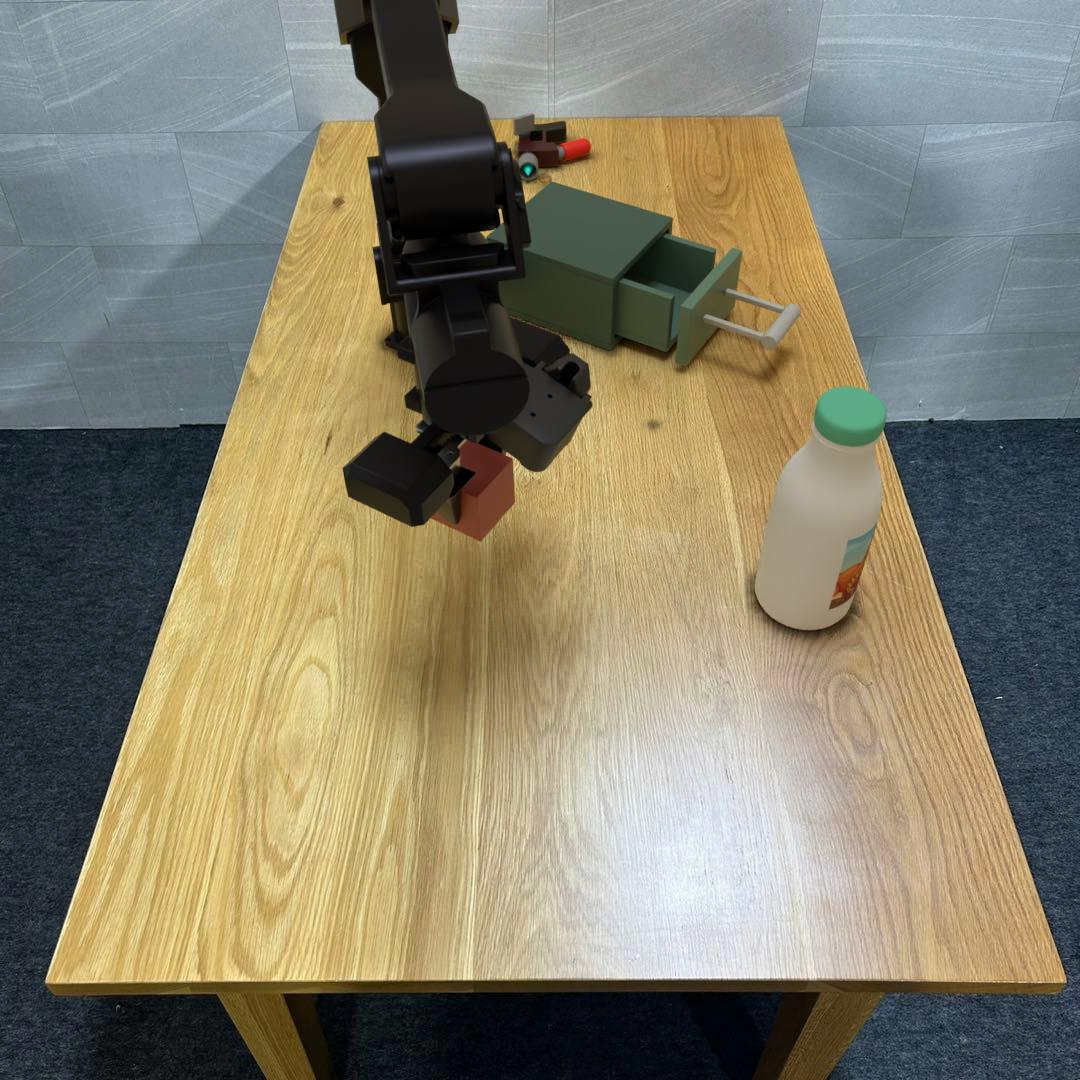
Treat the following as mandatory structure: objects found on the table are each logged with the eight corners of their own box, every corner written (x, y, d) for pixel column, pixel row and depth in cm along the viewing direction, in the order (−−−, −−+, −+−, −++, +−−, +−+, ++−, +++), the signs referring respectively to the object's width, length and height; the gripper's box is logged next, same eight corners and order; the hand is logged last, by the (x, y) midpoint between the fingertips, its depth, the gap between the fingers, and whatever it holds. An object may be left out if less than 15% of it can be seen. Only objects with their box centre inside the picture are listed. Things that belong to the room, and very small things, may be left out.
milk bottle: (791, 648, 80) (843, 460, 65) (734, 580, 84) (770, 390, 70) (870, 610, 82) (938, 421, 67) (810, 546, 87) (861, 356, 72)
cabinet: (667, 289, 112) (673, 217, 105) (610, 351, 105) (613, 278, 98) (552, 251, 117) (551, 180, 111) (490, 308, 110) (485, 236, 104)
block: (429, 518, 76) (422, 473, 73) (464, 480, 79) (460, 435, 75) (480, 542, 74) (476, 498, 71) (515, 502, 77) (513, 458, 73)
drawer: (805, 330, 105) (817, 272, 100) (759, 393, 99) (769, 335, 94) (621, 270, 113) (623, 214, 108) (567, 324, 106) (567, 267, 101)
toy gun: (514, 185, 127) (513, 148, 123) (514, 138, 135) (513, 101, 131) (593, 183, 127) (594, 145, 123) (588, 136, 135) (589, 99, 131)
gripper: (477, 463, 56) (491, 635, 68) (641, 289, 66) (629, 464, 78) (318, 394, 60) (358, 567, 72) (496, 240, 70) (506, 413, 82)
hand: (471, 500), depth 76 cm, fingers closed on block, 4 cm apart
